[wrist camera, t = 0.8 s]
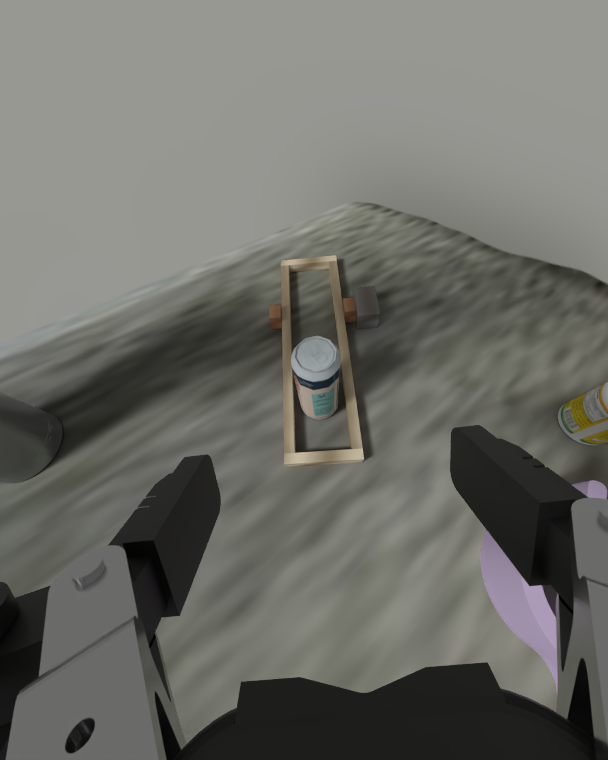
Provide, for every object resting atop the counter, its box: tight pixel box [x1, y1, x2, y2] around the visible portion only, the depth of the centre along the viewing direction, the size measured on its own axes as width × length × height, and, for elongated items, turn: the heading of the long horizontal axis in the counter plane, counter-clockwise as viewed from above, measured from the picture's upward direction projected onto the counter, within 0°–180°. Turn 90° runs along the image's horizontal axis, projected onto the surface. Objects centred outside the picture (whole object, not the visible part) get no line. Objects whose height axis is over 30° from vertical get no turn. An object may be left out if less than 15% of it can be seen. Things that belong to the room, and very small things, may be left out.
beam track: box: [269, 255, 380, 467], centre depth 40 cm, size 15×32×3 cm, turn 3°
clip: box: [481, 480, 607, 694], centre depth 24 cm, size 20×12×7 cm, turn 11°
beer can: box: [291, 336, 341, 420], centre depth 33 cm, size 5×5×12 cm
